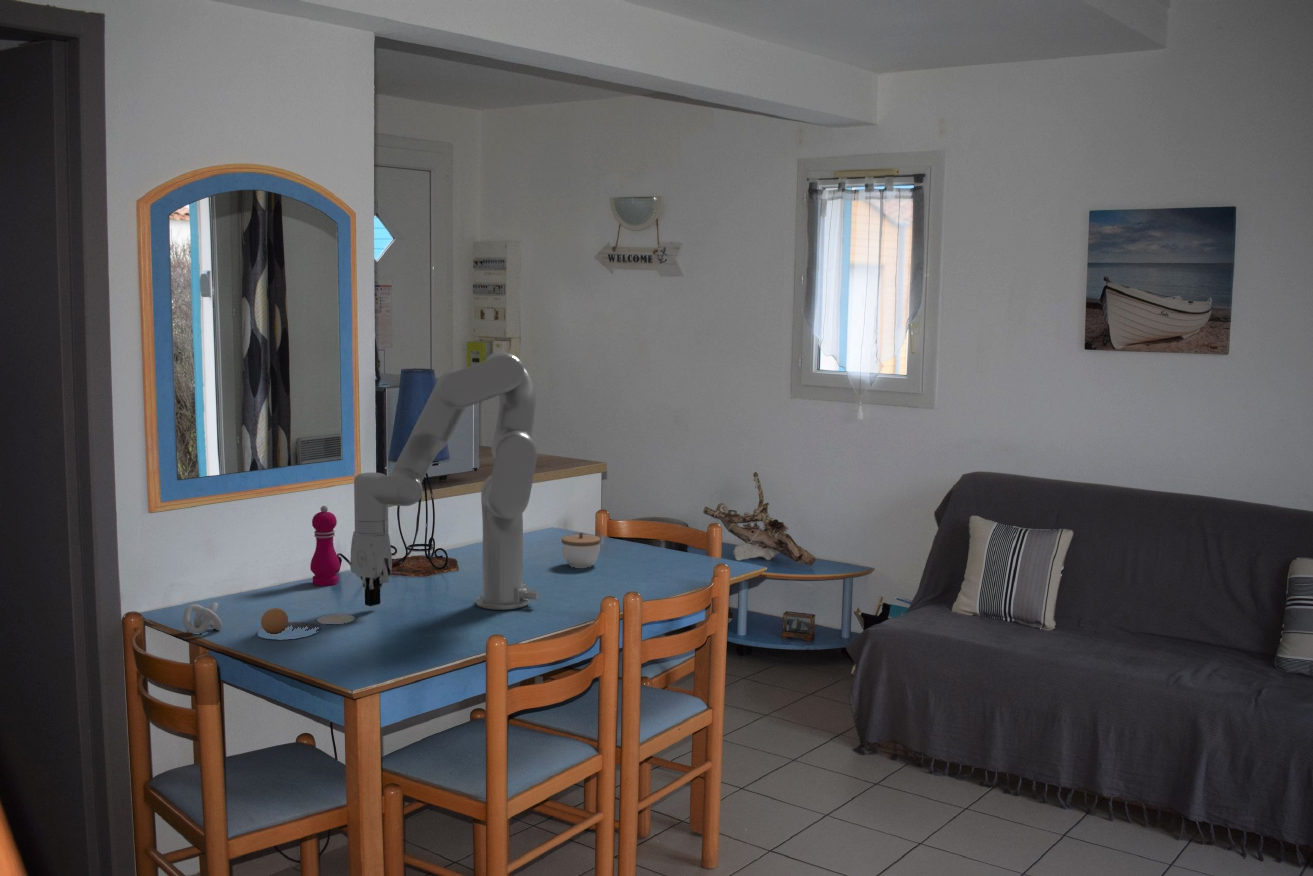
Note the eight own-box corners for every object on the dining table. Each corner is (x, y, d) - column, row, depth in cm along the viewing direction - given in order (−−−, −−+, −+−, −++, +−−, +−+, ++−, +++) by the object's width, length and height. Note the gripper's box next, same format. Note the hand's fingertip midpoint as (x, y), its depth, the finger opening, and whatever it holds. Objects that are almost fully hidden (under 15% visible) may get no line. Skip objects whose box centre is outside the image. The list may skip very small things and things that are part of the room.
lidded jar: (607, 564, 302) (608, 531, 301) (585, 572, 293) (585, 538, 292) (576, 559, 308) (577, 527, 307) (553, 566, 299) (553, 533, 298)
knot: (192, 625, 238) (191, 599, 238) (230, 625, 239) (229, 599, 238) (180, 635, 231) (179, 609, 230) (218, 635, 231) (218, 608, 231)
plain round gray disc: (361, 616, 247) (361, 615, 247) (342, 626, 239) (342, 625, 239) (329, 613, 249) (329, 612, 249) (310, 623, 241) (310, 622, 241)
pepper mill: (346, 581, 279) (344, 504, 276) (328, 587, 272) (327, 509, 270) (322, 578, 281) (320, 502, 279) (304, 585, 274) (303, 507, 272)
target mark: (331, 625, 240) (331, 624, 240) (298, 642, 227) (298, 641, 227) (278, 620, 243) (278, 620, 243) (243, 637, 230) (243, 636, 230)
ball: (258, 623, 228) (269, 643, 231) (283, 610, 230) (294, 630, 232) (255, 611, 233) (266, 631, 236) (279, 599, 235) (290, 619, 237)
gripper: (338, 524, 251) (339, 602, 254) (378, 533, 242) (379, 614, 244) (365, 520, 257) (366, 596, 259) (405, 528, 248) (406, 607, 250)
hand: (372, 604), depth 252 cm, fingers closed
